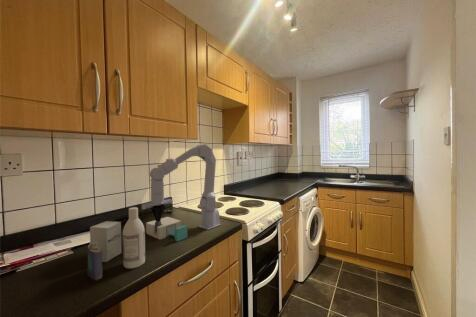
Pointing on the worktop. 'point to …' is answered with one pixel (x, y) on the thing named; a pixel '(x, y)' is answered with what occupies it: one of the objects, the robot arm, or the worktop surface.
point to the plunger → (157, 225)
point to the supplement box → (107, 238)
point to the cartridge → (177, 232)
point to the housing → (161, 227)
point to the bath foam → (133, 241)
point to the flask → (94, 262)
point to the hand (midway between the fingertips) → (158, 221)
